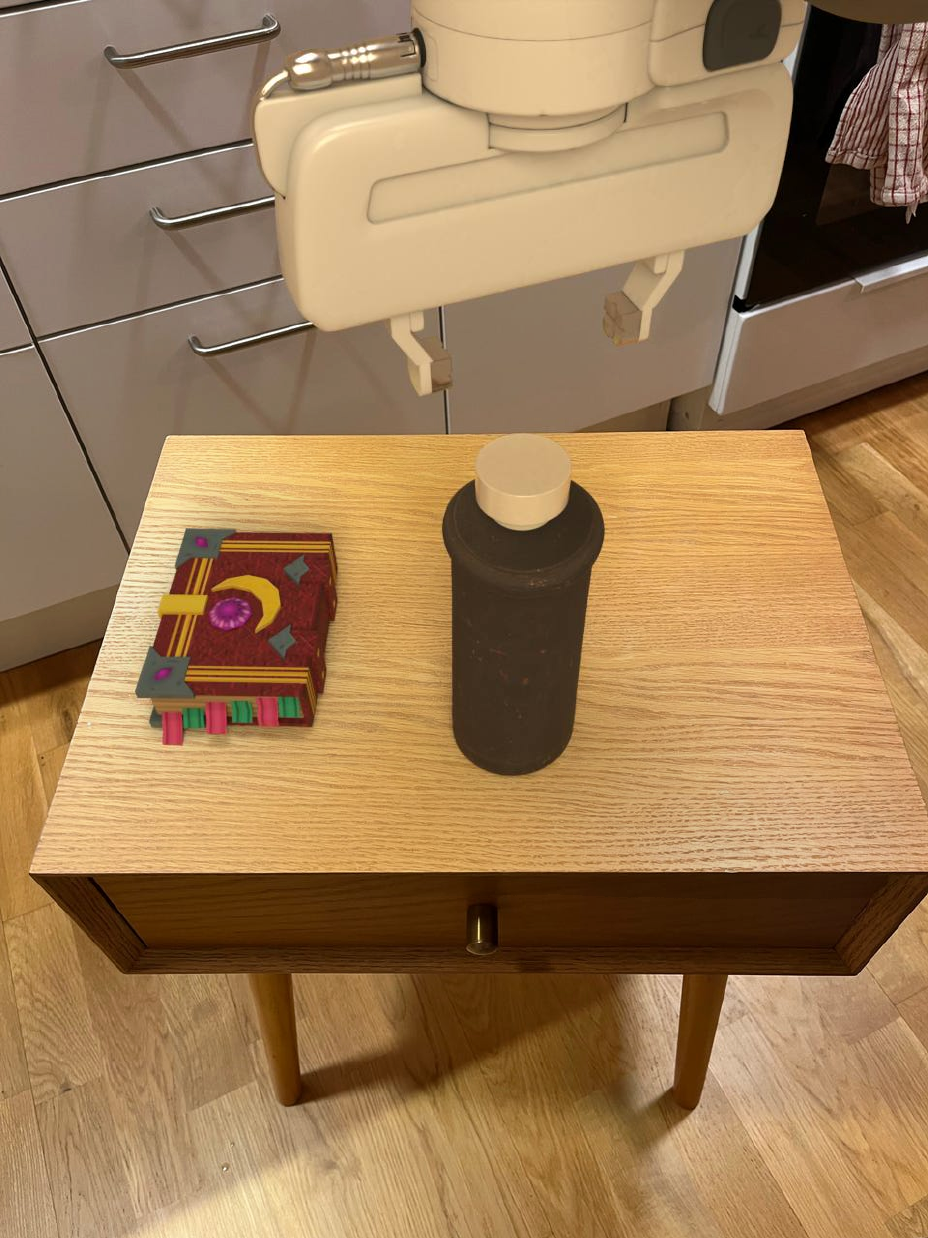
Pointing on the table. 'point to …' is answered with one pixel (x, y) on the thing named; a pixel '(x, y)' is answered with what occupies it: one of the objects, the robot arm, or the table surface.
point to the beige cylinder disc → (522, 480)
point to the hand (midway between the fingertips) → (529, 360)
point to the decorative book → (241, 632)
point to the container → (518, 629)
